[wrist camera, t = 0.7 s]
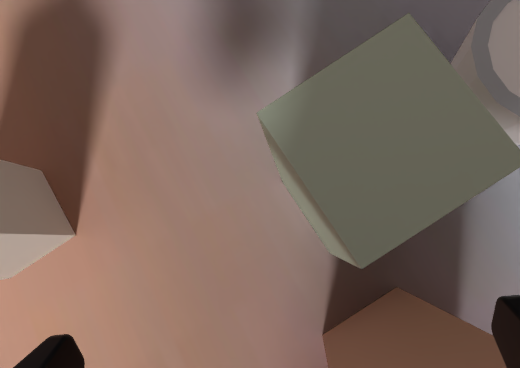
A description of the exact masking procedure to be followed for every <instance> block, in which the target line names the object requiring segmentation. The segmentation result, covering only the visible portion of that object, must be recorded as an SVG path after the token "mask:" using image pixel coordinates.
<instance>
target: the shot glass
mask: <svg viewBox="0 0 520 368" xmlns="http://www.w3.org/2000/svg"><path fill="white" fill-rule="evenodd" d="M451 65H452V67H453V68H454V69H455V70H456V72H457V73H458V74H459V75H460V76H461V78H462V79H463V80H464V81H465V83H466V84H467V85H468V86H469V88H470V89H471V90H472V91H473V92H474V94H475V95H476V96H477V97H478V99H479V100H480V101H481V102H482V104H483V105H484V106H485V107H486V109H487V110H488V111H489V112H490V113H491V115H492V116H493V117H494V118H495V120H496V121H497V122H498V123H499V125H500V126H501V127H502V128H503V130H504V131H505V132H506V133H507V134H508V136H509V137H510V138H511V139H512V141H513V142H514V143H515V144H516V145H519V144H520V0H491V1H490V2H489V3H488V4H487V6H486V7H485V8H484V10H483V11H482V12H481V14H480V15H479V16H478V18H477V19H476V21H475V23H474V24H473V26H472V28H471V29H470V31H469V33H468V35H467V36H466V38H465V40H464V41H463V43H462V45H461V47H460V48H459V50H458V52H457V53H456V55H455V57H454V59H453V60H452V62H451Z"/></svg>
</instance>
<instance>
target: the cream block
mask: <svg viewBox="0 0 520 368" xmlns="http://www.w3.org/2000/svg"><path fill="white" fill-rule="evenodd" d="M74 236H76V235H75V233H74V231H73V229H72V227H71V225H70V223H69V222H68V220H67V218H66V216H65V214H64V212H63V210H62V208H61V206H60V205H59V203H58V201H57V199H56V197H55V195H54V193H53V191H52V189H51V188H50V186H49V184H48V182H47V180H46V178H45V176H44V174H43V172H42V171H41V170H38V169H34V168H31V167H27V166H23V165H19V164H16V163H12V162H8V161H4V160H1V159H0V280H2V279H9V278H12V277H13V276H15V275H16V274H18V273H19V272H21V271H22V270H24V269H25V268H27V267H28V266H30V265H31V264H33V263H34V262H36V261H37V260H39V259H41V258H42V257H44V256H45V255H47V254H48V253H50V252H51V251H53V250H54V249H56V248H57V247H59V246H60V245H62V244H63V243H65V242H66V241H68V240H69V239H71V238H72V237H74Z"/></svg>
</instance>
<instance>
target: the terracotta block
mask: <svg viewBox="0 0 520 368" xmlns="http://www.w3.org/2000/svg"><path fill="white" fill-rule="evenodd" d="M322 336H323V341H324V346H325V352H326V357H327V362H328V367H329V368H507V367H506V365H505V362H504V360H503V358H502V355H501V353H500V351H499V348H498V346H497V344H496V341H495V339H494V336H492V335H490V334H489V333H487V332H485V331H483V330H481V329H479V328H477V327H475V326H473V325H471V324H469V323H467V322H465V321H463V320H461V319H459V318H457V317H455V316H453V315H451V314H449V313H447V312H445V311H443V310H441V309H439V308H437V307H435V306H433V305H431V304H429V303H427V302H425V301H423V300H421V299H419V298H417V297H415V296H413V295H412V294H410V293H408V292H406V291H404V290H402V289H400V288H398V287H396V288H395V289H393V290H391V291H390V292H388V293H387V294H385V295H384V296H382V297H381V298H379V299H377V300H376V301H374V302H373V303H371V304H370V305H368V306H367V307H365V308H364V309H362V310H360V311H359V312H357V313H356V314H354V315H353V316H351V317H350V318H348V319H346V320H345V321H343V322H342V323H340V324H339V325H337V326H336V327H334V328H332V329H331V330H329V331H328V332H326V333H325V334H323V335H322Z"/></svg>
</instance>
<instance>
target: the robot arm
mask: <svg viewBox="0 0 520 368" xmlns="http://www.w3.org/2000/svg"><path fill="white" fill-rule="evenodd" d="M492 333H493V336H494V339H495V341H496V344H497V346H498V348H499V351H500V353H501V355H502V358H503V360H504V362H505V365H506V367H507V368H520V295H512V296H501V297H499V298H498V299H497V301H496V305H495V310H494V315H493V320H492ZM84 365H85V364H84V358H83V355H82V354H81V352H80V350H79V348H78V346H77V344H76V343H75V341H74V339H73V337H72V336H70V335H69V334H64V335H53V336H50V337H48V338H47V339H46V340H45V341H44V342H42V343H41V344H40V345H39V346H38V347H37V348H35V349H34V350H33V351H32V352H31V353H30V354H28V355H27V356H26V357H25V358H24V359H23V360H22V361H20V362H19V363H18V364H17V365H16V366H15V367H13V368H84Z"/></svg>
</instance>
